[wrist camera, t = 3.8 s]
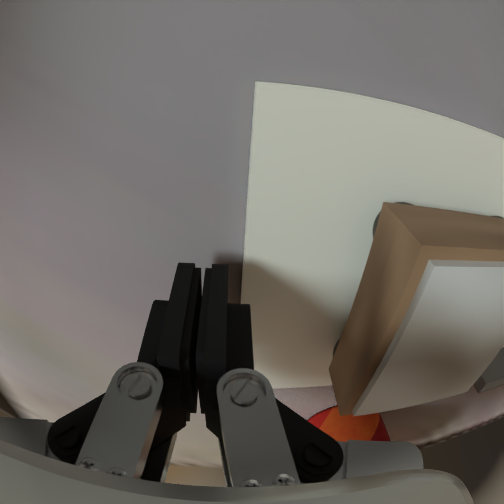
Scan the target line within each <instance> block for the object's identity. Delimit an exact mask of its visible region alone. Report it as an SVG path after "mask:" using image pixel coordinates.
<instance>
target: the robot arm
mask: <svg viewBox="0 0 504 504" xmlns="http://www.w3.org/2000/svg"><path fill="white" fill-rule="evenodd" d="M227 292H228V265H224V264H212V268H206V269H205V277H204V285H203V293H202V285H201V268H195V263H178V266H177V270H176V274H175V278H174V282H173V286H172V290H171V294H170V298H169V301H164V300H154V302H153V304H152V308H151V311H150V315H149V318H148V322H147V326H146V329H145V333H144V337H143V341H142V344H141V348H140V352H139V356H138V360H137V362H134V363H129V364H127V365H124V366H122V367H121V368H120V369H118V370H117V371H116V373H115V374H114V376H113V378H112V380H111V382H110V384H109V386H108V388H107V391H106V393H104V394H102V395H100V396H99V397H97V398H95V399H93V400H92V401H90V402H88V403H86V404H85V405H83V406H81V407H79V408H78V409H76V410H74V411H72V412H71V413H69V414H67V415H65V416H63V417H62V418H60V419H58V420H57V421H56V422H54V423H50V422H48V420H40V419H23V418H11V417H0V504H474V503H473V500H472V498H471V496H470V494H469V492H468V490H467V488H466V487H465V485H464V484H463V482H461V480H460V479H459V478H457V477H456V476H454V475H452V474H450V473H446V472H442V471H438V470H431V469H423V458H422V455H421V452H420V450H419V449H418V448H417V446H415V445H414V444H412V443H409V442H394V441H363V440H348V441H347V442H342V441H336V440H335V439H334V438H332V437H331V436H329V435H328V434H326V433H325V432H323V431H322V430H320V429H319V428H317V427H316V426H314V425H313V424H311V423H310V422H308V421H307V420H305V419H304V418H303V417H301V416H300V415H298V414H297V413H295V412H294V411H293V410H291V409H290V408H288V407H287V406H286V405H284V404H283V403H281V402H280V401H279V400H277V399H276V398H275V396H274V393H273V389H272V386H271V384H270V382H269V380H268V379H267V378H266V377H265V376H264V375H263V374H261V373H260V372H258V371H256V370H254V358H253V342H252V325H251V309H250V304H229V303H227ZM198 391H199V400H200V408H201V413H202V414H205V417H206V427H207V428H208V429H209V430H210V431H211V432H212V433H213V434H215V435H216V436H217V437H218V441H219V447H220V453H221V459H222V465H223V470H224V476H225V481H226V486H227V487H208V486H207V487H206V486H192V485H180V484H170V483H164V482H165V479H166V474H167V471H168V467H169V464H170V460H171V456H172V452H173V449H174V445H175V441H176V437H177V432H178V431H179V430H181V429H182V428H184V427H185V426H186V421H190V413H196V410H197V396H198Z"/></svg>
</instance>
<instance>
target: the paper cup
mask: <svg viewBox="0 0 504 504" xmlns="http://www.w3.org/2000/svg"><path fill="white" fill-rule="evenodd" d="M307 421H308V422H310V423H311V424H313V425H314V426H316V427H317V428H319V429H320V430H322V431H323V432H325V433H326V434H328V435H329V436H331V437H332V438H334V439H335V440H336V441H342V442H347V441H348V440H363V441H390V438H389V435H388V433H387V430H386V428H385V425H384V423H383V420H382V418H381V415H380V413H373V414H367V415H360V416H353V414H352V415H344V416H340V414H339V410H338V406H334V407H331V408H328V409H325V410H323V411H321V412H319V413H317V414H315V415H313V416H312V417H311V418H309V419H308V420H307Z"/></svg>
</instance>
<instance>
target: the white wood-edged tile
mask: <svg viewBox="0 0 504 504" xmlns="http://www.w3.org/2000/svg"><path fill="white" fill-rule="evenodd" d="M372 232H373V242H372V245H371V249H370V252H369V255H368V259H367V262H366V265H365V269H364V272H363V275H362V278H361V281H360V284H359V287H358V290H357V293H356V296H355V299H354V302H353V305H352V308H351V311H350V314H349V317H348V319H347V322H346V325H345V328H344V330H343V333H342V336H341V338H340V339H339V340H338V341H337V342H336V344H335V346H334V349H333V359H332V362H331V364H330V366H329V373H330V377H331V381H332V385H333V389H334V393H335V397H336V401H337V406H338V410H339V414H340V416H344V415H352V414H353V416H360V415H367V414H373V413H379V412H385V411H390V410H396V409H401V408H406V407H410V406H415V405H420V404H424V403H428V402H432V401H436V400H440V399H444V398H448V397H451V396H455V395H458V394H462V393H465V392H467V391H468V390H469V389H470V388H471V387H472V385H473V384H474V383H475V382H476V381H477V379H478V378H479V377H480V376H481V375H482V373H483V372H484V371H485V370H486V368H487V367H488V366H489V364H490V363H491V362H492V360H493V359H494V358H495V356H496V355H497V354H498V352H499V351H500V350H501V348H502V347H503V345H504V218H503V217H501V216H485V215H479V214H473V213H466V212H460V211H453V210H446V209H438V208H431V207H423V206H415V205H413V204H410V203H406V202H395V203H389V202H383V204H382V208H381V211H380V212H379V214H378V215H377V217H376V219H375V221H374V224H373V231H372Z"/></svg>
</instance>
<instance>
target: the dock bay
mask: <svg viewBox="0 0 504 504" xmlns="http://www.w3.org/2000/svg"><path fill="white" fill-rule="evenodd" d="M383 202H389V203H395V202H406V203H410V204H413V205H415V206H423V207H431V208H438V209H446V210H453V211H460V212H466V213H473V214H479V215H485V216H501V217H503V218H504V138H502V137H499V136H497V135H495V134H492V133H490V132H487V131H484V130H482V129H479V128H477V127H474V126H471V125H468V124H466V123H463V122H460V121H457V120H454V119H451V118H448V117H445V116H442V115H438V114H435V113H432V112H428V111H425V110H422V109H418V108H414V107H411V106H407V105H403V104H399V103H395V102H391V101H387V100H382V99H378V98H373V97H368V96H363V95H358V94H353V93H348V92H342V91H336V90H330V89H323V88H316V87H309V86H301V85H293V84H283V83H272V82H259V81H255V91H254V105H253V119H252V133H251V147H250V162H249V177H248V192H247V207H246V223H245V239H244V255H243V271H242V287H241V304H250V309H251V325H252V342H253V358H254V370H256V371H258V372H260V373H261V374H263V375H264V376H265V377H266V378H267V379H268V380H269V382H270V384H271V386H272V388H299V387H317V386H331V385H332V381H331V377H330V373H329V366H330V364H331V362H332V359H333V349H334V346H335V344H336V342H337V341H338V340H339V339H340V338H341V336H342V333H343V330H344V328H345V325H346V322H347V319H348V317H349V314H350V311H351V308H352V305H353V302H354V299H355V296H356V293H357V290H358V287H359V284H360V281H361V278H362V275H363V272H364V269H365V265H366V262H367V259H368V255H369V252H370V249H371V245H372V242H373V232H372V231H373V224H374V221H375V219H376V217H377V215H378V214H379V212H380V211H381V208H382V204H383ZM503 384H504V345H503V347H502V348H501V350H500V351H499V352H498V354H497V355H496V356H495V358H494V359H493V360H492V362H491V363H490V364H489V366H488V367H487V368H486V370H485V371H484V372H483V373H482V375H481V376H480V377H479V378H478V379H477V381H476V382H475V383H474V386H475V388H476V390H477V392H478V393H481V392H484V391H487V390H490V389H492V388H495V387H498V386H501V385H503Z"/></svg>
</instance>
